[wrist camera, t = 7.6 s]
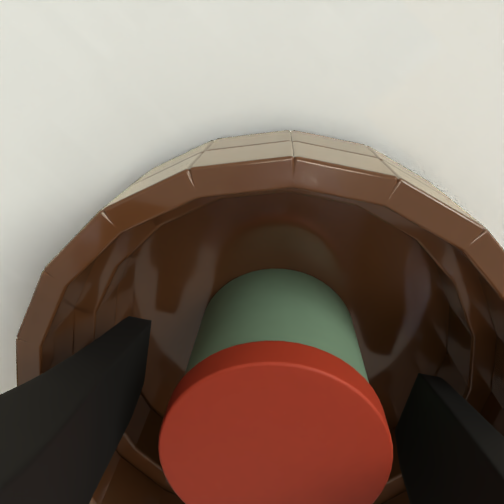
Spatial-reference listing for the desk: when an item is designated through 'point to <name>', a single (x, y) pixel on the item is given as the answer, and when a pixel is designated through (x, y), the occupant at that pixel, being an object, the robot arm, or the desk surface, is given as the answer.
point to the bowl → (277, 257)
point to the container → (275, 401)
